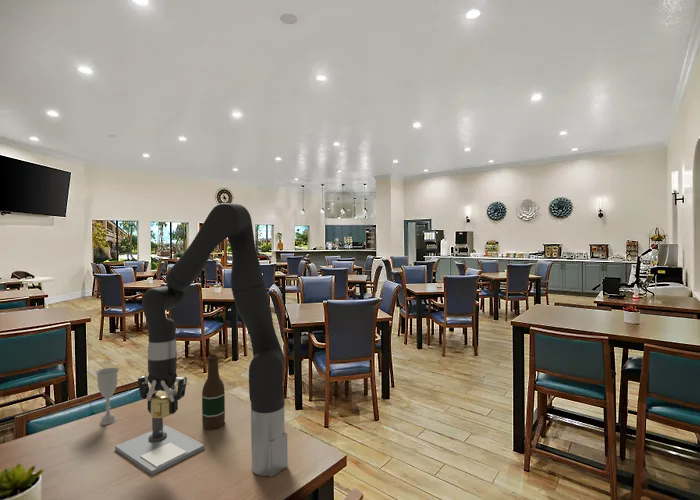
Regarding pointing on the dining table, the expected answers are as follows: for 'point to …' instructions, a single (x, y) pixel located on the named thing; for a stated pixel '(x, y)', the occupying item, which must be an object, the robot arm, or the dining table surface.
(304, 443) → the dining table surface
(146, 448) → the board
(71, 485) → the dining table surface
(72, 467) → the dining table surface
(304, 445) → the dining table surface
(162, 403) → the cap
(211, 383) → the beer bottle
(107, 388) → the chalice
